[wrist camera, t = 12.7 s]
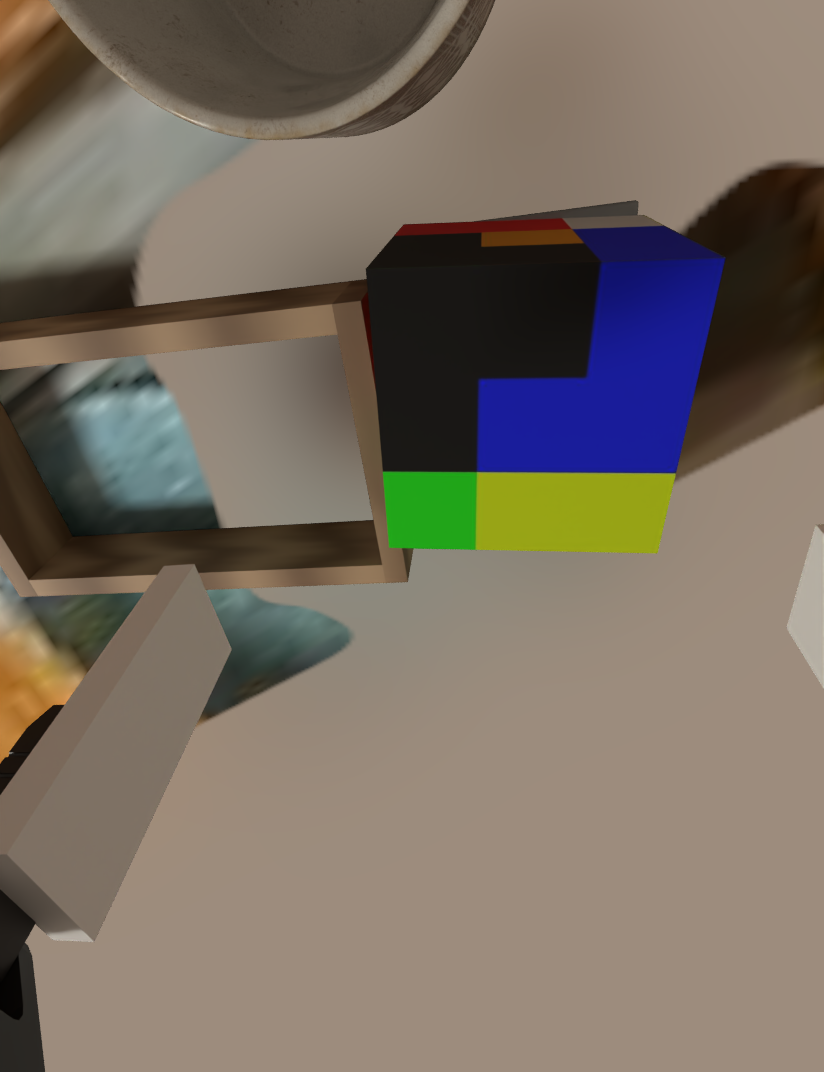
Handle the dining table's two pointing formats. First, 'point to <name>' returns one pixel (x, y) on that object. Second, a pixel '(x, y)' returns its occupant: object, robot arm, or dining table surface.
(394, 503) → the puzzle toy
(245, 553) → the pocket frame
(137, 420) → the dining table surface
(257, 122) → the planter
